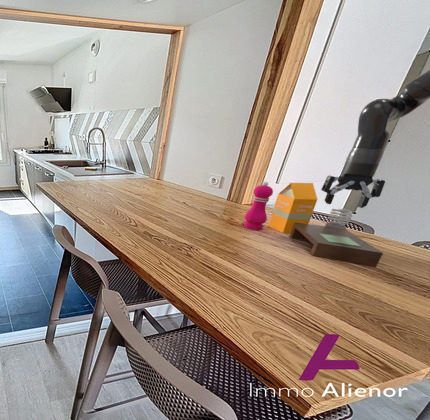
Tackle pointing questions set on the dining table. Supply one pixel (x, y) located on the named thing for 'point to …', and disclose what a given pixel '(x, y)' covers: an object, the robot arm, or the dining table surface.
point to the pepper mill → (258, 207)
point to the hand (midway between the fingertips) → (343, 205)
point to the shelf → (336, 244)
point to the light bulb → (342, 220)
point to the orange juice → (293, 206)
